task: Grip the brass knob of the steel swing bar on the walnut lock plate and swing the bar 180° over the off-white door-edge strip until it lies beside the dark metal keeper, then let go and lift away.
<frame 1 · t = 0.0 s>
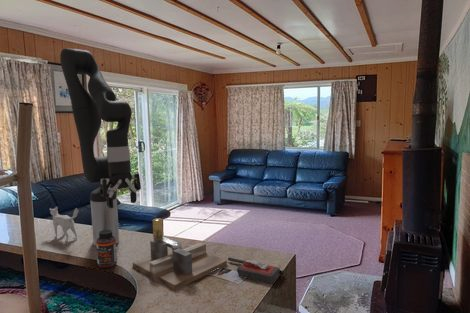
hand: (122, 205, 121), 17 cm above the counter, tool pointing down, fingers open, 8 cm apart
cat figurine: (66, 239, 137), on the counter
lock base: (177, 267, 111), on the counter
supplement bottle: (107, 265, 113), on the counter
swing bar: (166, 233, 113), point 10 cm above the counter, hinge at 0.0°
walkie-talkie: (251, 273, 107), on the counter
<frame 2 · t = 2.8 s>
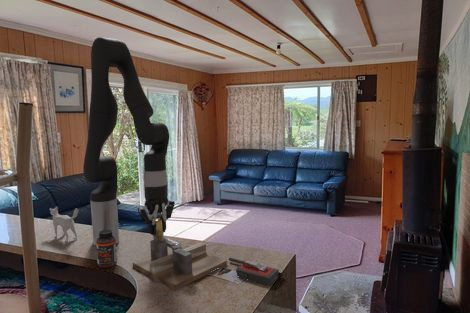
hand: (157, 233, 116), 9 cm above the counter, tool pointing down, fingers closed on swing bar, 3 cm apart
swing bar: (166, 233, 113), point 10 cm above the counter, hinge at -0.1°, touching gripper
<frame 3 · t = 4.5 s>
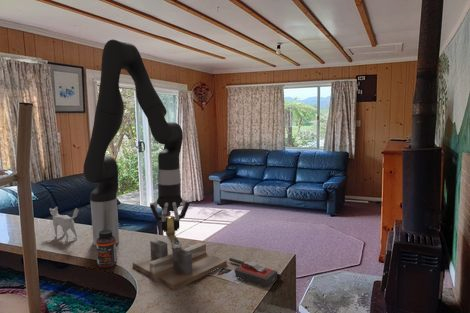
hand: (170, 230, 119), 9 cm above the counter, tool pointing down, fingers closed on swing bar, 3 cm apart
swing bar: (173, 232, 114), point 10 cm above the counter, hinge at -26.3°, touching gripper
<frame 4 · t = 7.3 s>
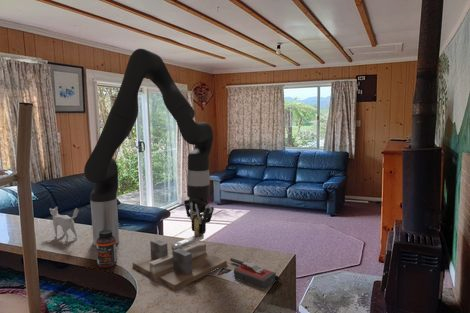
hand: (198, 231, 117), 9 cm above the counter, tool pointing down, fingers closed on swing bar, 3 cm apart
swing bar: (187, 232, 113), point 10 cm above the counter, hinge at -87.2°, touching gripper
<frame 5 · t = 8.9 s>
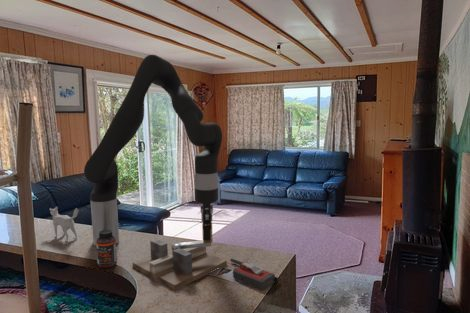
hand: (207, 237, 112), 9 cm above the counter, tool pointing down, fingers closed on swing bar, 3 cm apart
swing bar: (192, 235, 111), point 10 cm above the counter, hinge at -124.4°, touching gripper
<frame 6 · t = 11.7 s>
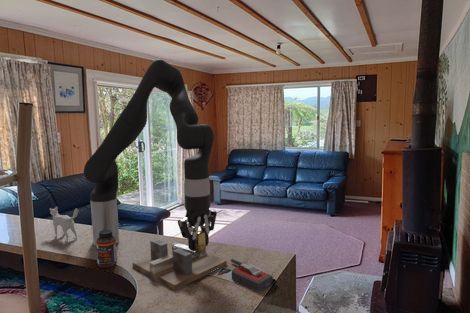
hand: (198, 247, 104), 9 cm above the counter, tool pointing down, fingers open, 4 cm apart
swing bar: (187, 240, 107), point 10 cm above the counter, hinge at -172.9°, touching gripper
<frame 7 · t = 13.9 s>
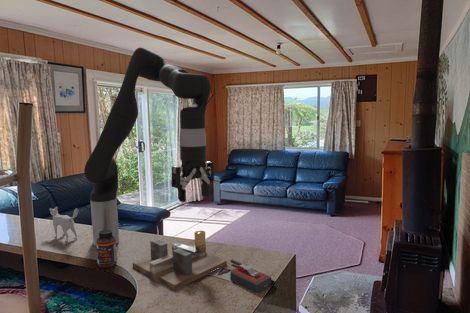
hand: (194, 198, 102), 24 cm above the counter, tool pointing down, fingers open, 8 cm apart
swing bar: (187, 240, 107), point 10 cm above the counter, hinge at -172.9°
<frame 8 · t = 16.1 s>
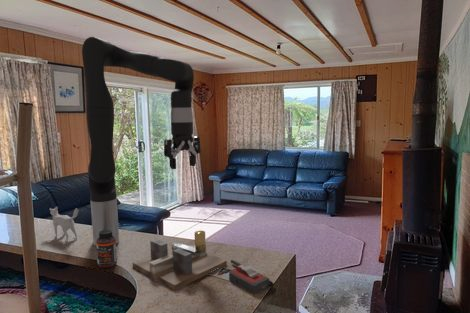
hand: (183, 167, 121), 30 cm above the counter, tool pointing down, fingers open, 8 cm apart
at the end: swing bar at -173° (first picture: +0°); the gripper is holding nothing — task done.
